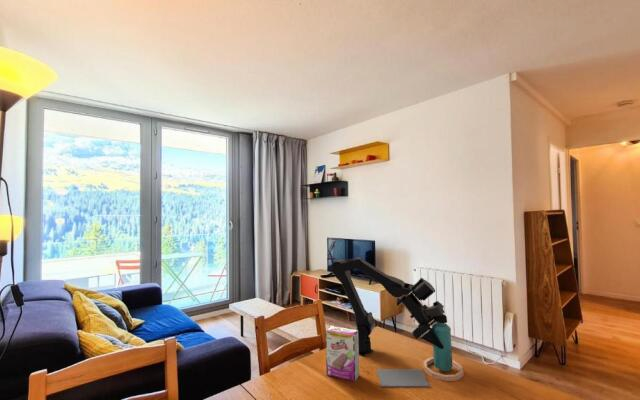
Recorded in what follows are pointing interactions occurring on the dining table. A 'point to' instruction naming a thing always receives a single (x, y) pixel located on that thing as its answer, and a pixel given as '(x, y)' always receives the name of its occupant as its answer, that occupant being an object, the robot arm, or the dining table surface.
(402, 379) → the rubber mat
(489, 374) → the dining table surface
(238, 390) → the dining table surface
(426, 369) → the pale pink ring
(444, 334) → the beverage bottle
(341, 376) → the candy bar box
